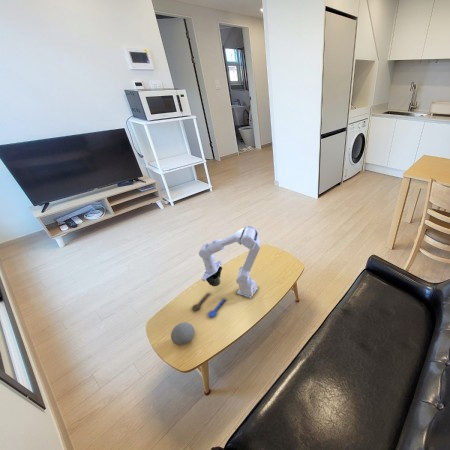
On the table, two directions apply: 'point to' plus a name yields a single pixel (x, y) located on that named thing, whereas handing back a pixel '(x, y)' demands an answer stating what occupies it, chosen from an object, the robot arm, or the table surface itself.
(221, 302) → the blue spoon
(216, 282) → the dark metal cup
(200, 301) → the wooden spoon
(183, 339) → the decorative ball
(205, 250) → the robot arm
